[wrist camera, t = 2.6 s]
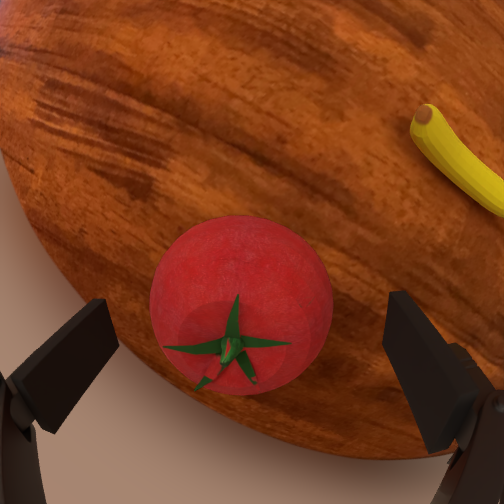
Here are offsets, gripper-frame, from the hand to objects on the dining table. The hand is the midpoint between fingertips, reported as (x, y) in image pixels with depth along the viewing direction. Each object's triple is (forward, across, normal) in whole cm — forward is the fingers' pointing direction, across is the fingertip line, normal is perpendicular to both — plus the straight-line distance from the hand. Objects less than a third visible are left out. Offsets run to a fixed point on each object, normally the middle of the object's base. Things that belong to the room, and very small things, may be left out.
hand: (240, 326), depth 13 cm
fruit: (+6, +13, +6) cm, 15 cm away
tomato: (+5, 0, 0) cm, 5 cm away
